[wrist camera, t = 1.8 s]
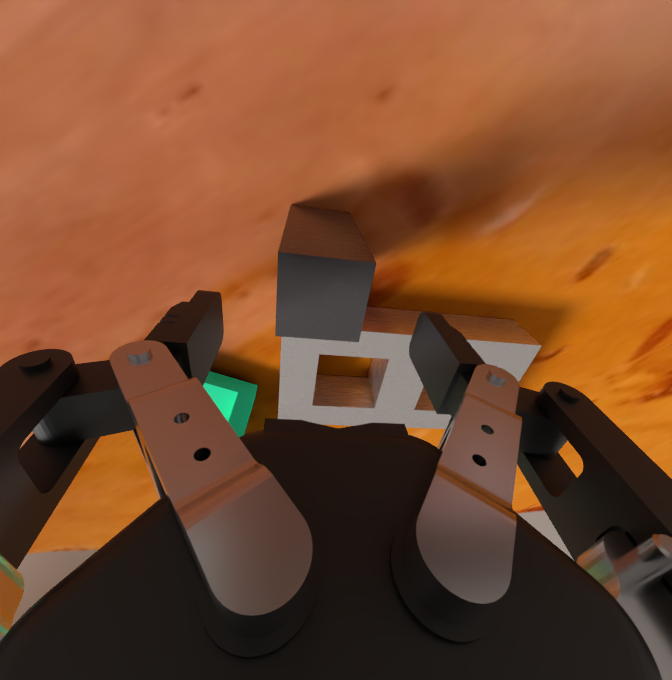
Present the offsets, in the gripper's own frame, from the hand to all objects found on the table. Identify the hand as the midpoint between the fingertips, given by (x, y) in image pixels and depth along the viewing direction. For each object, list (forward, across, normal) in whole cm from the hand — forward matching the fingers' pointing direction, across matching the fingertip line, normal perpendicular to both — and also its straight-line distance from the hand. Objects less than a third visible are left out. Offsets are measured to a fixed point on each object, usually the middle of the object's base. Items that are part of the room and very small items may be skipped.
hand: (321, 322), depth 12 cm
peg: (+11, 0, 0) cm, 11 cm away
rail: (+12, -8, +10) cm, 17 cm away
